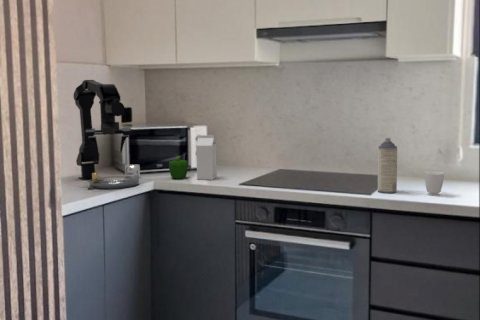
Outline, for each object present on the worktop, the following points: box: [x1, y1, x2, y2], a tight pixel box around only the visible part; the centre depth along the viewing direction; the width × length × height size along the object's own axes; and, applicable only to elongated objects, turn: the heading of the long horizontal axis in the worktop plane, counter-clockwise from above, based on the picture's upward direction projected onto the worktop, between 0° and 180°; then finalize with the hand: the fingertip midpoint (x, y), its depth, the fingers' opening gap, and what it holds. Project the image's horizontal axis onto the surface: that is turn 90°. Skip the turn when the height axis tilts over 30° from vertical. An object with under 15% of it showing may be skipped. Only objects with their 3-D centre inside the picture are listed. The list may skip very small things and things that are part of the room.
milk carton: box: [195, 134, 218, 181], centre depth 242 cm, size 7×7×19 cm
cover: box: [124, 164, 141, 179], centre depth 247 cm, size 6×6×6 cm
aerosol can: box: [377, 137, 398, 195], centre depth 204 cm, size 7×7×20 cm
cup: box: [423, 170, 445, 197], centre depth 199 cm, size 7×10×8 cm
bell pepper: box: [168, 156, 189, 180], centre depth 245 cm, size 8×8×10 cm
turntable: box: [89, 171, 140, 190], centre depth 230 cm, size 20×20×6 cm
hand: (109, 152), depth 228 cm, fingers open, 9 cm apart
